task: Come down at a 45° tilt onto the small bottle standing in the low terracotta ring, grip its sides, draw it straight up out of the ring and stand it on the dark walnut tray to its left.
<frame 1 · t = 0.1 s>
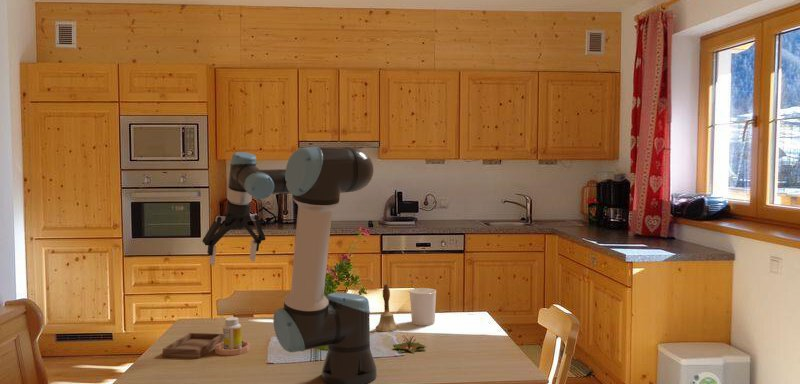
hand: (232, 262, 202), 28 cm above the table, tool tilted 20°, fingers open, 13 cm apart
hand bell: (387, 329, 222), on the table
terracotta ring: (232, 350, 199), on the table
walnut tray: (194, 348, 201), on the table
candle holder: (423, 323, 229), on the table
supplement bottle: (232, 350, 200), resting in terracotta ring
lily flower: (409, 350, 199), on the table
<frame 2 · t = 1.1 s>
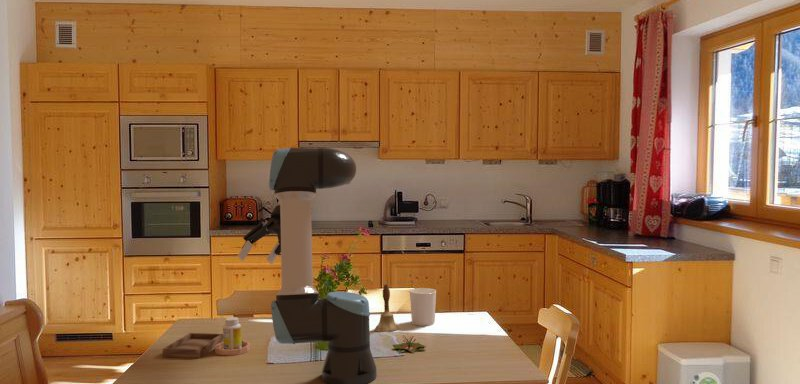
hand: (254, 260, 207), 28 cm above the table, tool tilted 45°, fingers open, 13 cm apart
nothing on the table moved.
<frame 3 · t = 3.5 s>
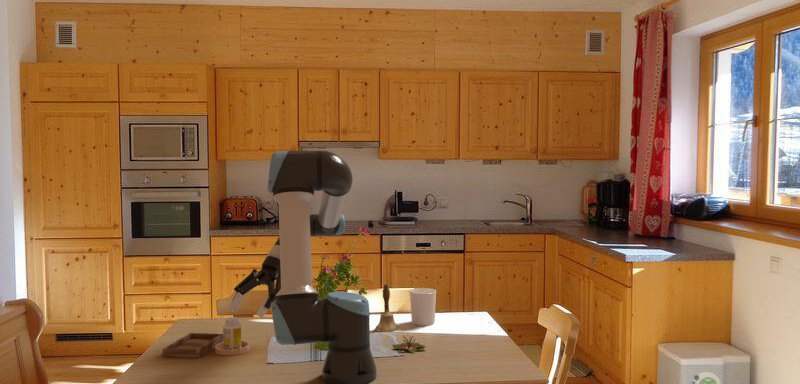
hand: (244, 313, 204), 10 cm above the table, tool tilted 45°, fingers open, 13 cm apart
nothing on the table moved.
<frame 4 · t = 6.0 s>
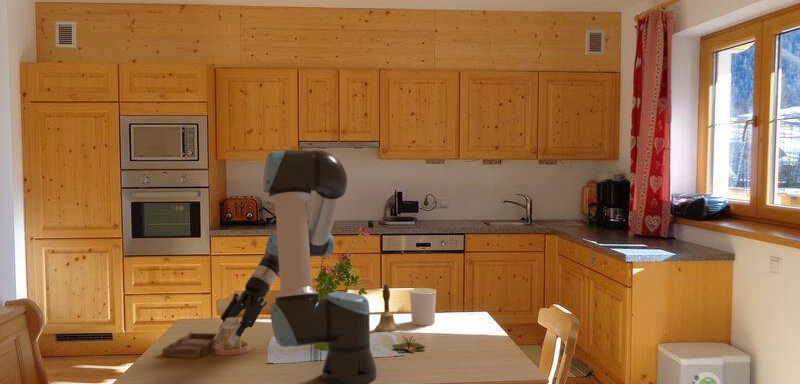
hand: (223, 342, 196), 3 cm above the table, tool tilted 45°, fingers closed on supplement bottle, 5 cm apart
supplement bottle: (232, 350, 200), resting in terracotta ring, touching gripper
everything else where it was.
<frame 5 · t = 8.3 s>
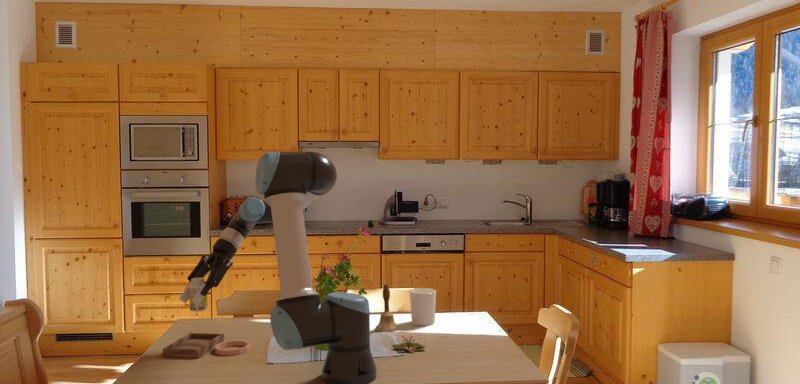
hand: (188, 301, 198), 16 cm above the table, tool tilted 45°, fingers closed on supplement bottle, 5 cm apart
supplement bottle: (198, 310, 201), point 12 cm above the table, touching gripper
everything else where it was.
when the fingers open (5 cm above the table, at t = 10.6 s): supplement bottle drops 1 cm, resting on walnut tray.
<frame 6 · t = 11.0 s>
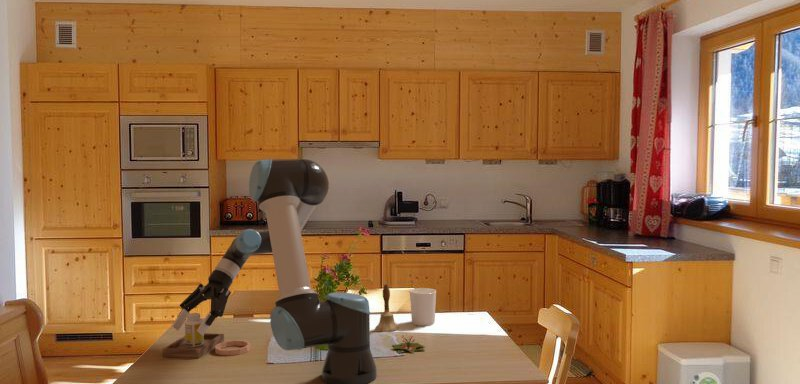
hand: (187, 330, 199), 7 cm above the table, tool tilted 45°, fingers open, 11 cm apart
supplement bottle: (194, 346, 201), point 1 cm above the table, touching walnut tray
everything else where it was.
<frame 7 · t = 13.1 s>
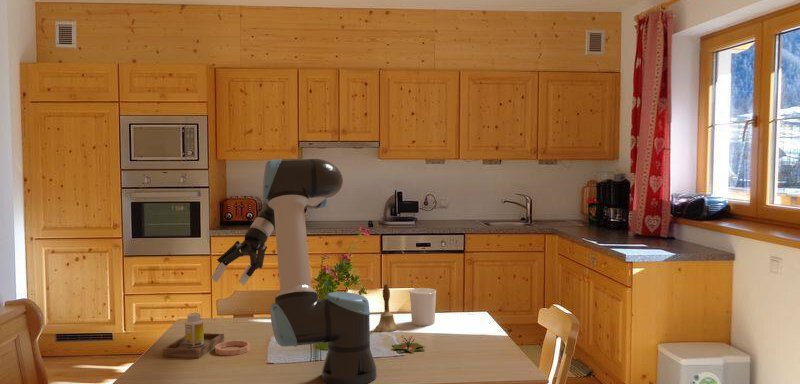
hand: (227, 281, 211), 20 cm above the table, tool tilted 45°, fingers open, 13 cm apart
nothing on the table moved.
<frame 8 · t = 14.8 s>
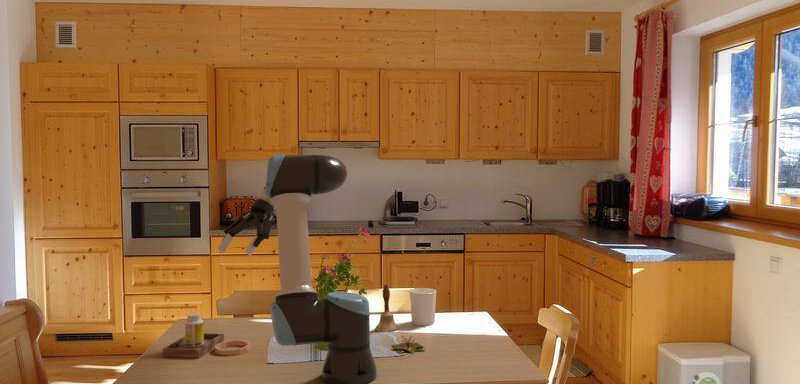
hand: (233, 252, 210), 30 cm above the table, tool tilted 45°, fingers open, 13 cm apart
nothing on the table moved.
at the end: supplement bottle inside the target area on the walnut tray (0.1 cm from its centre), point 0.8 cm above the walnut tray's base; supplement bottle tilted 0°; the gripper is holding nothing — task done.
